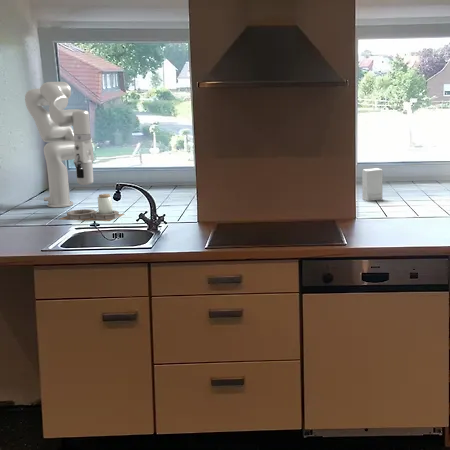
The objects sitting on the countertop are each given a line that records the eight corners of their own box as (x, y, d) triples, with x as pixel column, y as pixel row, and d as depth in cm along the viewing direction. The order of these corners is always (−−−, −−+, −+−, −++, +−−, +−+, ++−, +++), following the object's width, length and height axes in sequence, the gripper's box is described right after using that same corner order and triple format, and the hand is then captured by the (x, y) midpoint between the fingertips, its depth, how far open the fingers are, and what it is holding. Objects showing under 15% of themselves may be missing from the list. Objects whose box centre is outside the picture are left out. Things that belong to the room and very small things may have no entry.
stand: (58, 221, 291) (57, 214, 291) (75, 215, 305) (74, 208, 305) (109, 223, 284) (109, 216, 283) (125, 216, 298) (124, 209, 297)
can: (89, 185, 303) (88, 158, 300) (74, 185, 304) (72, 158, 301) (96, 182, 310) (94, 156, 307) (81, 182, 311) (79, 156, 309)
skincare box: (377, 197, 325) (377, 167, 322) (383, 200, 319) (383, 169, 316) (361, 199, 323) (361, 168, 320) (366, 201, 318) (367, 170, 314)
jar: (96, 218, 291) (95, 195, 288) (103, 215, 296) (101, 193, 294) (109, 218, 289) (107, 196, 287) (115, 216, 294) (113, 193, 292)
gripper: (80, 140, 293) (82, 179, 297) (98, 136, 309) (101, 173, 313) (65, 139, 295) (67, 179, 299) (84, 136, 311) (86, 173, 315)
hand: (84, 176), depth 306 cm, fingers closed on can, 7 cm apart
